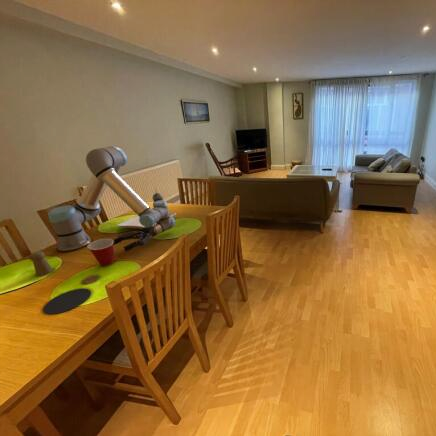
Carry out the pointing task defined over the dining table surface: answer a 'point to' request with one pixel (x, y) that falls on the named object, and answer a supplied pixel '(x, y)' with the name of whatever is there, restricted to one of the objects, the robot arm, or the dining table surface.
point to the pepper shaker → (40, 263)
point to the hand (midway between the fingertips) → (116, 246)
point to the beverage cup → (157, 197)
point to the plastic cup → (102, 251)
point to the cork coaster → (90, 279)
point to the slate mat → (67, 301)
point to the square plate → (136, 222)
